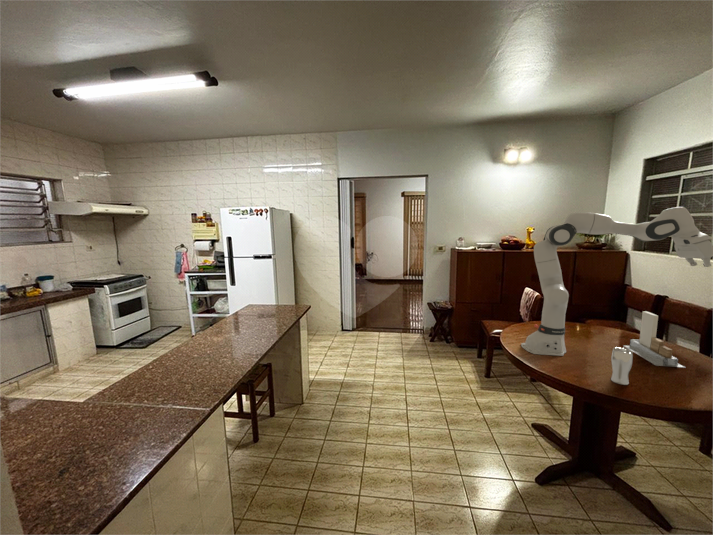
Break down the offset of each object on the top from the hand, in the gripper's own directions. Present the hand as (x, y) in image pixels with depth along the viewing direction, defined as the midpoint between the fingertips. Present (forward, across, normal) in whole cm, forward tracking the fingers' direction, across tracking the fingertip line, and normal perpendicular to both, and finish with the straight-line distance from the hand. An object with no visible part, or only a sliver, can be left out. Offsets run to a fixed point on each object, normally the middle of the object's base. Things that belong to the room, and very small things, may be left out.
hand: (700, 266), depth 133 cm
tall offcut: (+42, -10, -27) cm, 51 cm away
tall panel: (+41, -16, -28) cm, 52 cm away
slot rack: (+43, -13, -28) cm, 53 cm away
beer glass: (+36, +22, -52) cm, 67 cm away
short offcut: (+42, -4, -26) cm, 50 cm away
